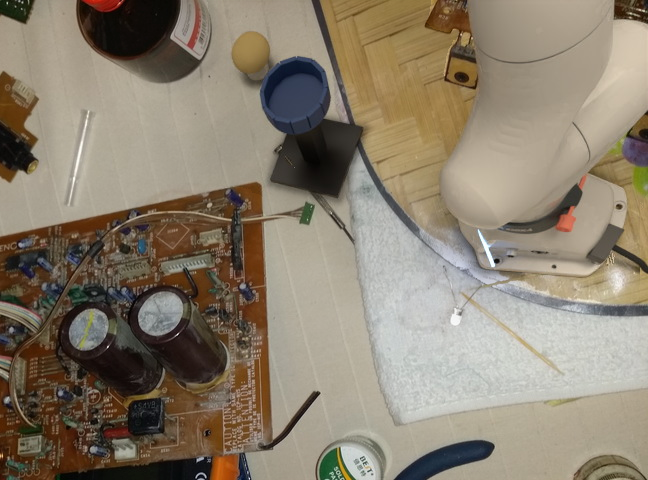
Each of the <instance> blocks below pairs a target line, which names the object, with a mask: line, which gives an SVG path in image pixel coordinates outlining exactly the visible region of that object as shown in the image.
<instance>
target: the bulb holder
mask: <svg viewBox="0 0 648 480" xmlns="http://www.w3.org/2000/svg"><path fill="white" fill-rule="evenodd" d="M259 99H260V104H261V108H262V111H263V113H264V115H265V117H266V119H267V121H268V122H269V123H270V124H271V125H272V126H273V128H274V129H276V130H278V132H280V133H283V134H285V135H286V134H293V135H295V134H302V133H305V132H308V131H310V130H312V129H313V128H315V127H316V126H317V125H318V124H319V123H320V122H321V121H322V120H323V119H325V117H326V116H327V114H328V113H329V109H330V107H331V101H332V95H331V90H330V85H329V80H328V76H327V71H326V70H325V68H324V67H323V66H322V65H320V63H318V61H317V60H316V59H314V58H311V57H306V56H301V55H297V56H296V55H294V56H292V57H288V58H286V59H282V60H279V62H277V63H276V64H275V65H274V66H273V67H272V68H271V69H269V70H268V73H267V74H266V76H265V77H264V78H263V79H262V83H261V86H260V89H259Z"/></svg>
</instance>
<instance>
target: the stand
mask: <svg viewBox="0 0 648 480" xmlns="http://www.w3.org/2000/svg"><path fill="white" fill-rule="evenodd" d="M363 132H364V126H361V125H356V124H353V123H347V122H342V121H338V120H333V119H328V118H324V119H323V120H322V121H321V122H320V123H319V124H318V125H317V126H316V127H315V128H313V129H312V130H310V131H308V132H305V133H302V134H295V135H293V134H286V133H285V136H284V139H283V142H282V145H281V148H282V149H281V148H280V151H279V153H278V156H277V159H276V162H275V165H274V167H273V170H272V173H271V175H270V179H269V181H270V182H271V183H274V184H279V185H283V186H287V187H290V188H295V189H299V190H303V191H306V192H310V193H315V194H319V195H322V196H326V197H331V198H334V199H339V197H340V194H341V191H342V189H343V186H344V183H345V181H346V178H347V175H348V172H349V170H350V167H351V164H352V161H353V159H354V156H355V154H356V151H357V148H358V146H359V143H360V140H361V137H362V135H363ZM285 156H287V157H288V158H289V159H290V160H291V162H292V163H293V165H292V166H291V165H290V164H289V163H288V162H287V161H286V159H285V158H286V157H285ZM294 167H295V168H294Z"/></svg>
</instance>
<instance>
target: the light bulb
mask: <svg viewBox="0 0 648 480" xmlns="http://www.w3.org/2000/svg"><path fill="white" fill-rule="evenodd" d="M230 53H231V54H230V55H231V57H230V58H231V60H232V64H233V65H234V67H235V68H236V69H237V70H238V71H240V72H241V73H244V74H247V76H248V77H249V79H251V80H253V81H261V80H264V77H265V76H267V75H266V74H267V73H268V72H269V70H270V68H269V63H268V61H269V60H270V55H271V46H270V43H269V41H268V39H267V38H266V37H265V36H264V35H263V34H262V33H260V32H258V31H253V30H249V31H245V32H243V33H242V34H240V35H239V36H238V37H237V38H236V39H235V40H234V43H233V45H232V47H231V51H230Z"/></svg>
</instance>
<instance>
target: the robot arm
mask: <svg viewBox="0 0 648 480" xmlns="http://www.w3.org/2000/svg"><path fill="white" fill-rule="evenodd" d="M466 2H467V12H468V21H469V26H470V32H471V38H472V44H473V50H474V54H475V61H476V70H477V84H476V85H477V86H476V90H475V94H474V98H473V101H472V104H471V107H470V111H469V114H468V116H467V119H466V121H465V125H464V127H463V130H462V132H461V134H460V136H459V138H458V141H457V143H456V144H455V147H454V148H453V149H452V151H451V154H450V155H449V156H448V158H447V160H446V161H445V163H444V164H443V165H442V167H441V169H440V170H439V173H438V187H439V193H440V197H441V200H442V202H443V204H444V206H445V207H446V209H447V210H448V212H449V213H450V214H451V215H452V216H453V217H454V218H455V219H457V222H458V227H459V229H460V231H461V234H462V236H463V237H464V239H465V240H466V241H467V242H468V244H470V245H471V247H472V248H473V250H474V252H475V256H476V258H477V262H478V264H479V266H480V267H481V268H483V269H484V270H491V271H492V270H493V271H503V272H505V271H506V272H515V273H517V272H518V273H527V274H537V275H539V274H540V275H551V276H563V277H575V278H587V277H589V276H591V275H592V274H594V273H595V272H597V271H598V270H599V269H600V268H601V267H602V266H603V265H604V264H605V262H607V260H608V258H610V256H611V255H612V253H613V252H614V253H617V254H619V255H620V256H622V257H624V258H626V259H628V260H629V261H631V262H633V263H634V264H636V265H637V266H638V267H639V268H640V270H641V271H642V272H643V273H645V274H646V275H648V264H647V263H646V261H644V259H642V258H640V256H637V255H636V254H634V253H632V252H630V251H628V250H627V249H626V248H624V247H621V246H619V245H617V244H618V241H619V239H620V238H621V237H622V235H623V233H624V232H625V228H624V225H625V223H626V219H627V213H628V197H627V194H626V191H625V189H624V188H623V187H622V186H620V185H619V184H616V183H613V182H611V181H609V180H606V179H604V178H602V177H598V176H597V175H594V174H592V173H589V172H590V171H591V170H592V169H593V168H594V167H595V166H596V165H597V164H598V163H599V162H600V161H601V160H602V159H603V158H604V157H605V156H606V155H607V154H608V153H609V152H610V151H611V150H612V149H613V148H614V147H615V146H616V145H617V144H618V142H620V140H622V138H623V137H625V135H626V134H627V133H628V132H629V131H630V130H631V129H632V128H633V127H634V126H635V125H636V124H637V122H638V121H640V120H641V118H642V117H643V116H644V115H645V114H646V113H647V112H648V23H646V22H643V21H640V20H635V19H627V18H626V19H625V18H624V19H623V18H622V19H621V18H620V19H615V0H466ZM617 206H620V209H617ZM495 260H498V261H499V262H498V263H496V262H495ZM553 267H554V268H553Z"/></svg>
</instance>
